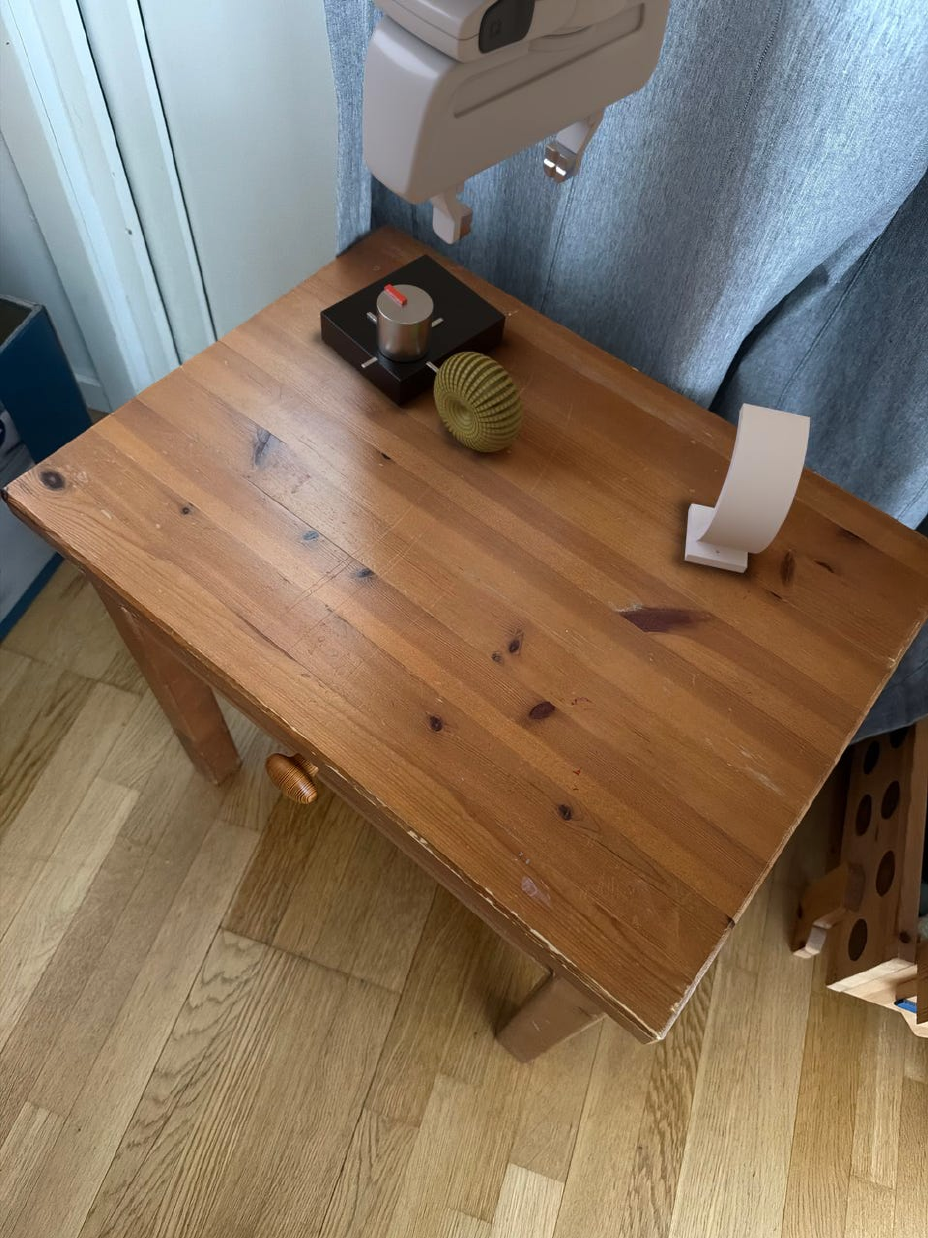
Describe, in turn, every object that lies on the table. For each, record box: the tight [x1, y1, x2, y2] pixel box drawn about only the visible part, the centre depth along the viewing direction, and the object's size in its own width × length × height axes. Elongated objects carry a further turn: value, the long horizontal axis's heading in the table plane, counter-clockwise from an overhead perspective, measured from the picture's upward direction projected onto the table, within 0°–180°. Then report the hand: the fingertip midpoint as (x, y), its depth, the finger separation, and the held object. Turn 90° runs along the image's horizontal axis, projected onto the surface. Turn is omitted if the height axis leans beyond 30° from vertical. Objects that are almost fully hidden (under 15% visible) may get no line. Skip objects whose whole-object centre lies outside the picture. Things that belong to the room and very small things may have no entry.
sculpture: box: [433, 352, 524, 453], centre depth 69 cm, size 8×4×8 cm, turn 46°
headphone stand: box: [684, 402, 811, 574], centre depth 64 cm, size 5×6×12 cm
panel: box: [319, 253, 507, 408], centre depth 76 cm, size 13×11×3 cm
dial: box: [376, 284, 433, 362], centre depth 71 cm, size 4×4×4 cm
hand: (507, 203), depth 54 cm, fingers open, 8 cm apart
